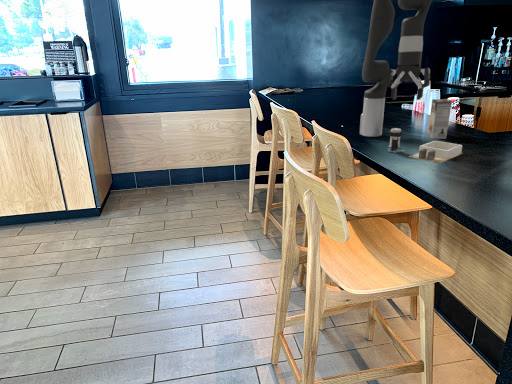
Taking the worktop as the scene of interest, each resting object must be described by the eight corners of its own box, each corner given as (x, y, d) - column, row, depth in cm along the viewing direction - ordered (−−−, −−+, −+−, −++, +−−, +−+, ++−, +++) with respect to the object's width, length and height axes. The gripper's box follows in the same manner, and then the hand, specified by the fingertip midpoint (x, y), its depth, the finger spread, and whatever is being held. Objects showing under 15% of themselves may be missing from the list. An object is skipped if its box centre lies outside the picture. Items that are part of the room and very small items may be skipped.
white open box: (418, 153, 146) (419, 145, 145) (433, 147, 153) (434, 140, 151) (446, 159, 138) (447, 151, 137) (461, 152, 145) (462, 145, 144)
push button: (402, 152, 152) (405, 127, 148) (405, 156, 147) (408, 130, 143) (385, 152, 153) (387, 127, 149) (387, 156, 148) (390, 130, 144)
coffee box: (427, 134, 180) (431, 99, 174) (441, 134, 179) (447, 99, 173) (431, 138, 171) (436, 102, 166) (446, 138, 170) (452, 102, 164)
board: (407, 159, 143) (409, 148, 142) (431, 150, 154) (433, 140, 152) (439, 166, 134) (441, 154, 133) (462, 156, 145) (464, 145, 143)
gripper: (435, 50, 130) (430, 99, 135) (393, 52, 139) (390, 98, 144) (429, 49, 125) (423, 100, 130) (385, 51, 133) (382, 99, 138)
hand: (406, 99), depth 137 cm, fingers open, 8 cm apart
